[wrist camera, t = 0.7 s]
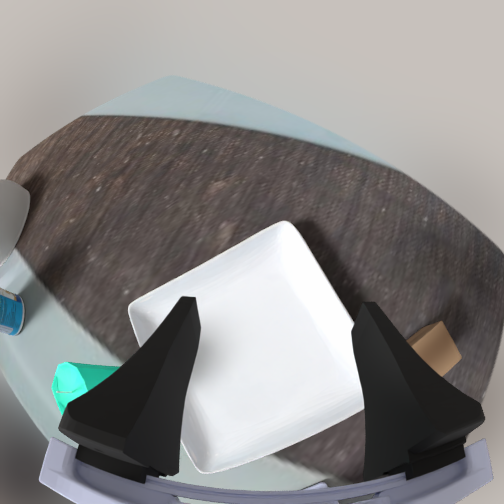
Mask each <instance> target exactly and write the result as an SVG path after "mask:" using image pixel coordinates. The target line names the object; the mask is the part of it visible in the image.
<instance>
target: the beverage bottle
mask: <svg viewBox="0 0 504 504" xmlns="http://www.w3.org/2000/svg"><path fill="white" fill-rule="evenodd" d="M24 315H25V309H24V303H23V300H22V298H21V297H20V296H19V295H16V294H13V293H11V292H9V291H6V290H4V289H2V288H0V332H3V333H6V334H9V335H12V336H15V335H17V334H18V333H19V332H20V330H21V328H22V326H23V322H24Z"/></svg>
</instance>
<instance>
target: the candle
mask: <svg viewBox="0 0 504 504" xmlns="http://www.w3.org/2000/svg"><path fill="white" fill-rule="evenodd" d="M118 368H120V367H115V366H102V365H90V364H81V363H72V362H65V363H62V364H59V365H58V367H57V370H56V373H55V377H54V380H53V384H52V391H53V394H54V397H55V399H56V402H57V405H58V407H59V410H60V412H61V414H62V415H63V413H64V410H65V408H66V406H67V404H68V402H70V401H72V400H74V399H76V398H77V397H79V396H81V395H82V394H84V393H86V392H88V391H89V390H91V389H92V388H94V387H95V386H96V385H98V384H99V383H101V382H102V381H103V380H105V379H106V378H108V377H109V376H110V375H111V374H113V373H114V372H115V371H116V370H117V369H118Z"/></svg>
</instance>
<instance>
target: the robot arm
mask: <svg viewBox="0 0 504 504" xmlns="http://www.w3.org/2000/svg"><path fill="white" fill-rule="evenodd" d="M200 333H201V324H200V318H199V313H198V307H197V301H196V297H189V296H182V297H180V299H179V300H178V301H177V303H176V304H175V306H174V307H173V308H172V310H171V311H170V312H169V314H168V315H167V316H166V318H165V319H164V320H163V322H162V323H161V324H160V325H159V327H158V328H157V329H156V330H155V332H154V333H153V334H152V335H151V336H150V337H149V338H148V340H147V341H146V342H145V343H144V344H143V345H142V346H141V347H140V348H139V350H138V351H137V352H136V353H135V354H134V355H133V356H132V357H131V358H130V359H128V360H127V361H126V362H125V363H124V364H123V365H122V366H121V367H120V368H118V369H117V370H116V371H115V372H114V373H113V374H111V375H110V376H109V377H108V378H106V379H105V380H103V381H102V382H101V383H99V384H98V385H96V386H95V387H94V388H92V389H91V390H89V391H88V392H86V393H84V394H82V395H81V396H79V397H77V398H76V399H74V400H72V401H70V402H68V404H67V406H66V408H65V410H64V413H63V416H62V419H61V421H60V424H59V427H58V429H59V431H60V432H61V433H63V434H64V435H66V436H67V437H69V438H70V439H72V440H73V441H75V442H76V443H78V444H79V446H78V449H76V448H74V447H73V446H70V445H68V444H66V443H64V442H62V441H60V440H58V439H56V438H54V437H51V439H50V442H49V446H48V449H47V452H46V455H45V459H44V462H43V466H42V469H41V473H40V477H39V481H40V482H41V483H43V484H44V485H46V486H47V487H49V488H51V489H52V490H54V491H56V492H57V493H59V494H61V495H62V496H64V497H66V498H68V499H69V500H71V501H73V502H75V503H76V504H189V503H183V502H181V501H180V500H179V498H178V497H176V496H179V497H184V498H190V499H196V500H203V501H210V502H218V503H228V504H339V502H338V501H337V500H343V499H349V498H355V497H360V496H365V495H369V494H374V493H376V494H374V496H373V497H372V498H371V499H369V500H364V501H359V502H354V503H349V504H455V503H457V502H458V501H460V500H462V499H463V498H465V497H466V496H468V495H469V494H471V493H473V492H474V491H476V490H477V489H479V488H480V487H482V486H484V485H485V484H487V483H488V482H490V481H491V480H492V479H493V474H492V467H491V462H490V457H489V452H488V448H487V444H486V439H485V438H484V439H481V440H480V441H478V442H476V443H474V444H471V445H469V446H468V447H466V448H464V446H463V444H464V443H466V437H465V436H466V435H467V434H469V433H470V432H472V431H473V430H474V429H476V428H477V427H479V426H480V425H481V424H482V423H483V422H484V420H485V416H484V413H483V410H482V407H481V404H480V403H479V402H477V401H476V400H474V399H472V398H471V397H469V396H467V395H466V394H464V393H463V392H461V391H460V390H458V389H457V388H455V387H454V386H453V385H451V384H450V383H449V382H447V381H446V380H445V379H444V378H443V377H441V376H440V375H439V374H438V373H437V372H436V371H435V370H433V369H432V368H431V367H430V366H429V365H428V364H427V363H426V362H425V361H424V360H423V359H422V358H421V357H420V356H419V355H418V354H417V352H416V351H415V350H414V349H413V348H412V347H411V346H410V345H409V343H408V342H407V341H406V340H405V339H404V337H403V336H402V335H401V334H400V333H399V331H398V330H397V329H396V328H395V326H394V325H393V324H392V323H391V321H390V320H389V319H388V317H387V316H386V315H385V314H384V312H383V311H382V310H381V309H380V307H379V306H378V305H377V304H376V302H363V303H362V305H361V308H360V310H359V313H358V316H357V318H356V321H355V323H354V325H353V328H352V330H351V338H352V347H353V353H354V358H355V362H356V366H357V371H358V375H359V379H360V384H361V388H362V393H363V399H364V410H365V429H366V443H365V462H364V471H363V480H364V482H362V483H357V484H351V485H345V486H338V487H331V488H329V487H328V486H327V484H326V483H325V482H320V483H318V484H315V485H313V486H311V487H308V488H306V489H303V490H297V491H246V490H231V489H220V488H212V487H204V486H197V485H191V484H185V483H180V482H175V481H170V480H165V479H161V478H159V476H163V477H166V476H167V475H169V476H174V475H176V474H177V473H178V472H179V456H180V441H181V430H182V420H183V412H184V405H185V398H186V393H187V389H188V385H189V381H190V378H191V374H192V370H193V366H194V363H195V359H196V355H197V351H198V347H199V341H200Z"/></svg>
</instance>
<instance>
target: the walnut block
mask: <svg viewBox="0 0 504 504" xmlns="http://www.w3.org/2000/svg"><path fill="white" fill-rule="evenodd" d="M406 341H407V342H408V343H409V345H410V346H411V347H412V348H413V349H414V350H415V351H416V352H417V354H418V355H419V356H420V357H421V358H422V359H423V360H424V361H425V362H426V363H427V364H428V365H429V366H430V367H431V368H432V369H433V370H435V371H436V372H437V373H438V374H439V375H440V376H441V377H442V376H443V375H444V374H445V373H447V372H448V371H449V370H450V369H451V368H452V367H453V366H454V365H455V364H456V363H457V362H458V361H459V360H460V359H461V358H462V357H461V355H460V353H459V351H458V349H457V347H456V346H455V344H454V342H453V340H452V338H451V336H450V334H449V333H448V331H447V329H446V327H445V325H444V324H443V322H442V321H439V322H437V323H434V324H431V325H428V326H425V327H422V328H421V329H420V330H419V331H418V332H416V333H415V334H414V335H413V336H411V337H410V338H409V339H408V340H406Z"/></svg>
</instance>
